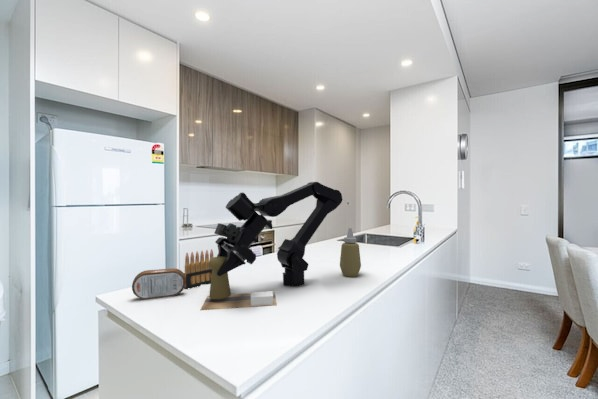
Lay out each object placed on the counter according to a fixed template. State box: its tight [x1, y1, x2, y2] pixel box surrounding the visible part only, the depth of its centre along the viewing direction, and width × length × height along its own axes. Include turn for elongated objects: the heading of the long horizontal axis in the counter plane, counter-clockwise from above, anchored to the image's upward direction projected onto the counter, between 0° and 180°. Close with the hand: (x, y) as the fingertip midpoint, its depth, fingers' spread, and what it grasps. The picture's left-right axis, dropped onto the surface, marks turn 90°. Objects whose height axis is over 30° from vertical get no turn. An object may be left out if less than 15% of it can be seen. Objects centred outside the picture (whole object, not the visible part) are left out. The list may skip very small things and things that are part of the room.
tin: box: [131, 267, 186, 300], centre depth 89 cm, size 15×3×8 cm, turn 110°
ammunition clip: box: [183, 249, 215, 290], centre depth 100 cm, size 11×2×12 cm, turn 133°
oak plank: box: [199, 291, 278, 311], centre depth 82 cm, size 20×11×1 cm, turn 98°
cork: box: [208, 256, 232, 299], centre depth 82 cm, size 6×6×11 cm
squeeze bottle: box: [339, 227, 362, 278], centre depth 110 cm, size 8×8×18 cm
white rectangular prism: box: [250, 290, 274, 307], centre depth 80 cm, size 6×4×2 cm, turn 98°
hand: (214, 273), depth 82 cm, fingers closed on cork, 5 cm apart
